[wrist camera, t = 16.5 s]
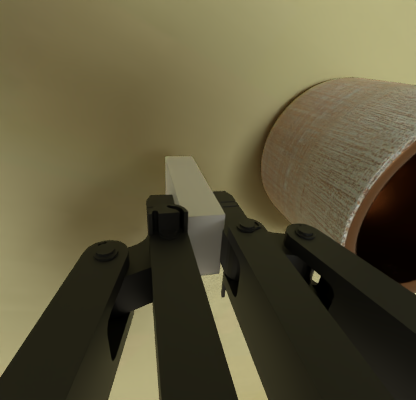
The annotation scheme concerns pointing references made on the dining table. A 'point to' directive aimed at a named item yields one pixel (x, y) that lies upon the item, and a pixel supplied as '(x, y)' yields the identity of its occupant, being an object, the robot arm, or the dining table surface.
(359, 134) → the planter
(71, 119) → the dining table surface
